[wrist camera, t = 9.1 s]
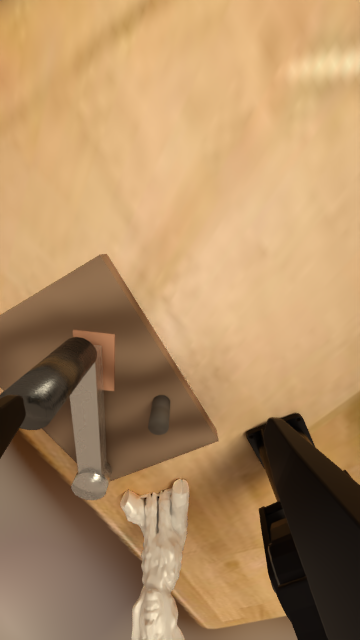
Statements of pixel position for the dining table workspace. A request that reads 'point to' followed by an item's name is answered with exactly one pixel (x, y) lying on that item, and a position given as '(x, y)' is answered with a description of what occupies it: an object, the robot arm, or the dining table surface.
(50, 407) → the lever
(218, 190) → the dining table surface
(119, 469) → the board
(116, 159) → the dining table surface
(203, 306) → the dining table surface
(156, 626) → the sitting furry creature
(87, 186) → the dining table surface
